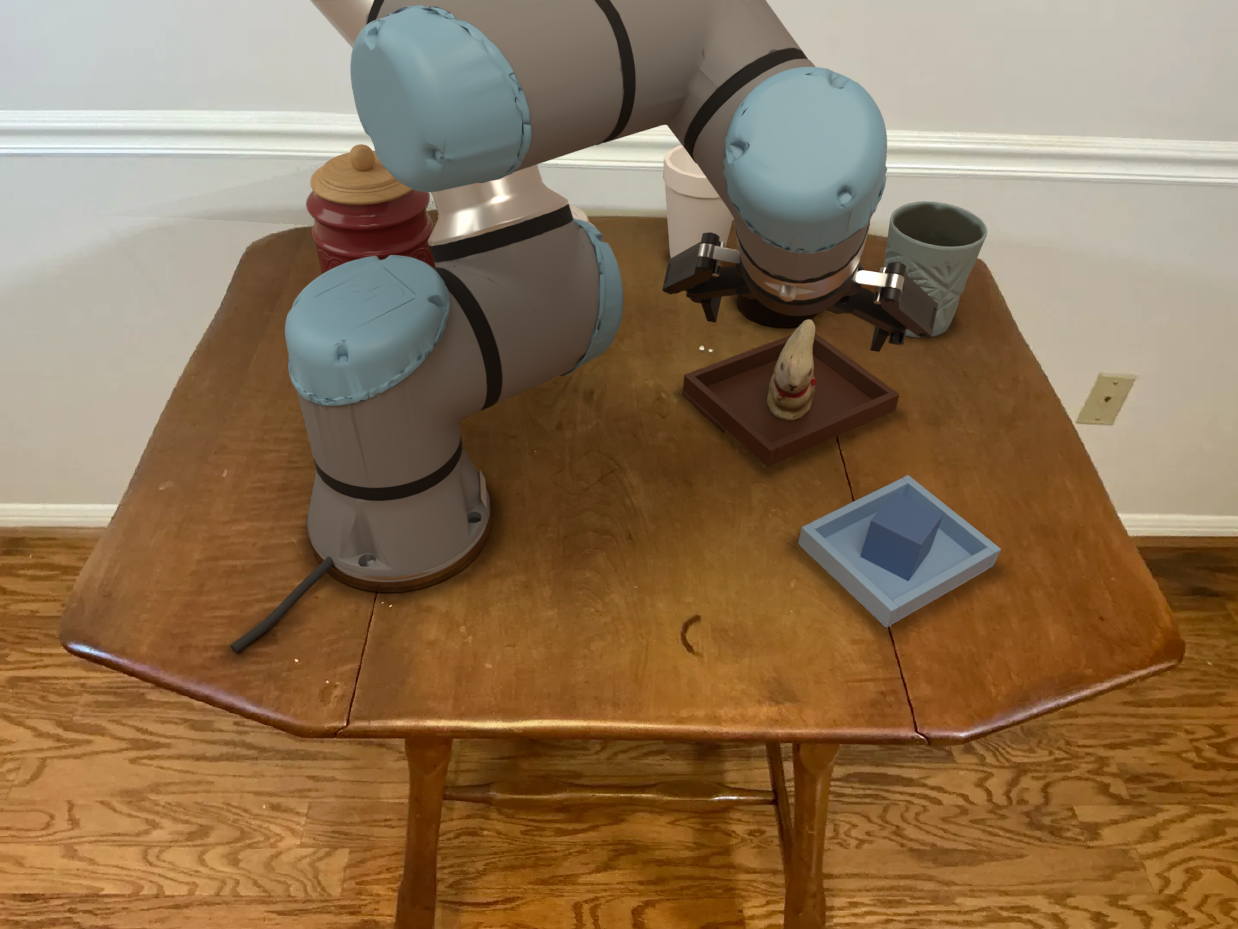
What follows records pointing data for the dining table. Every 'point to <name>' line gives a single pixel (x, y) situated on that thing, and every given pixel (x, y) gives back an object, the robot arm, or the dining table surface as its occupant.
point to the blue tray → (879, 590)
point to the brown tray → (741, 407)
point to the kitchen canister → (366, 212)
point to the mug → (768, 314)
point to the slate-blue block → (901, 535)
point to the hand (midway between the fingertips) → (795, 320)
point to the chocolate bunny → (794, 376)
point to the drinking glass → (936, 252)
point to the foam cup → (691, 203)
